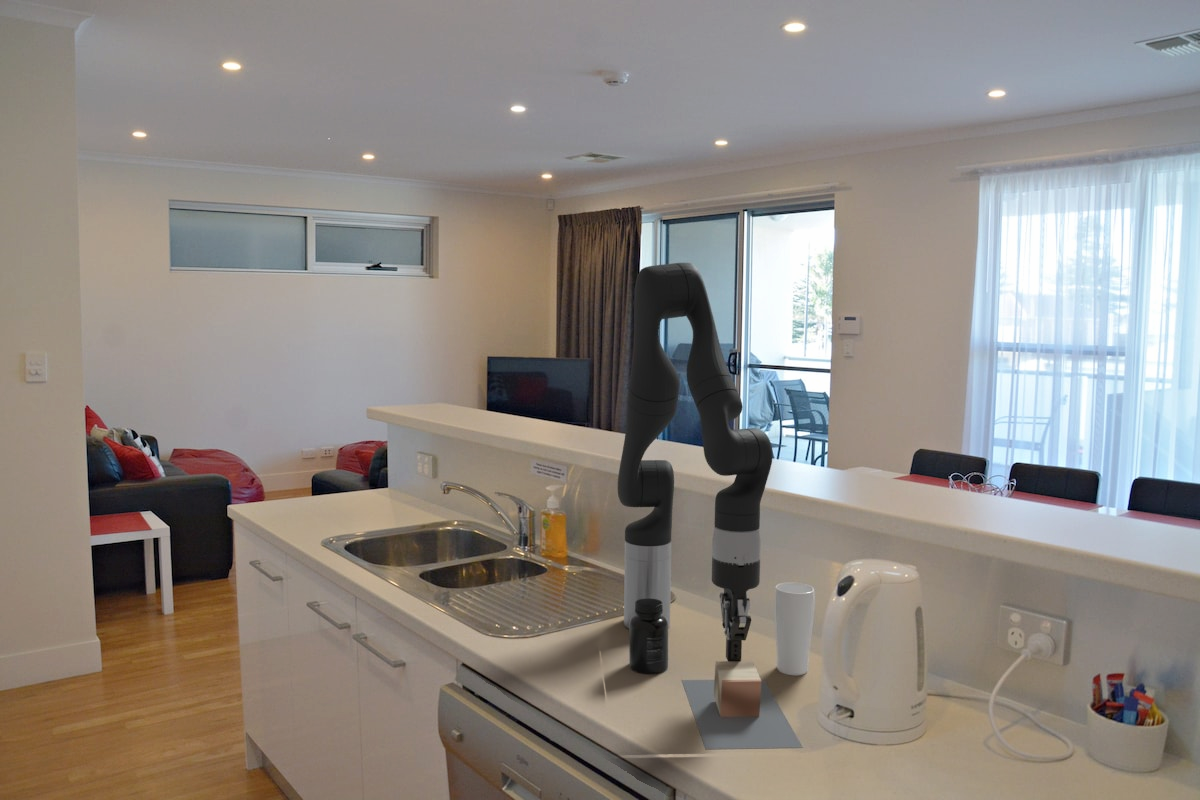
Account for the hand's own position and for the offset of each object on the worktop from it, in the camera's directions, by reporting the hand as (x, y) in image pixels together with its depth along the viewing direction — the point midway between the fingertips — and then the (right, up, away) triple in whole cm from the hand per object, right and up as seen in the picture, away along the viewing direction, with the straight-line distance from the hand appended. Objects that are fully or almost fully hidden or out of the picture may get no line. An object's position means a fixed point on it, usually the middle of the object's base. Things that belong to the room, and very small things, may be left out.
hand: (733, 660), depth 142 cm
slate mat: (0, -7, -3) cm, 8 cm away
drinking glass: (+12, -6, +13) cm, 19 cm away
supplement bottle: (-13, -6, +14) cm, 20 cm away
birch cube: (0, -3, 0) cm, 3 cm away
